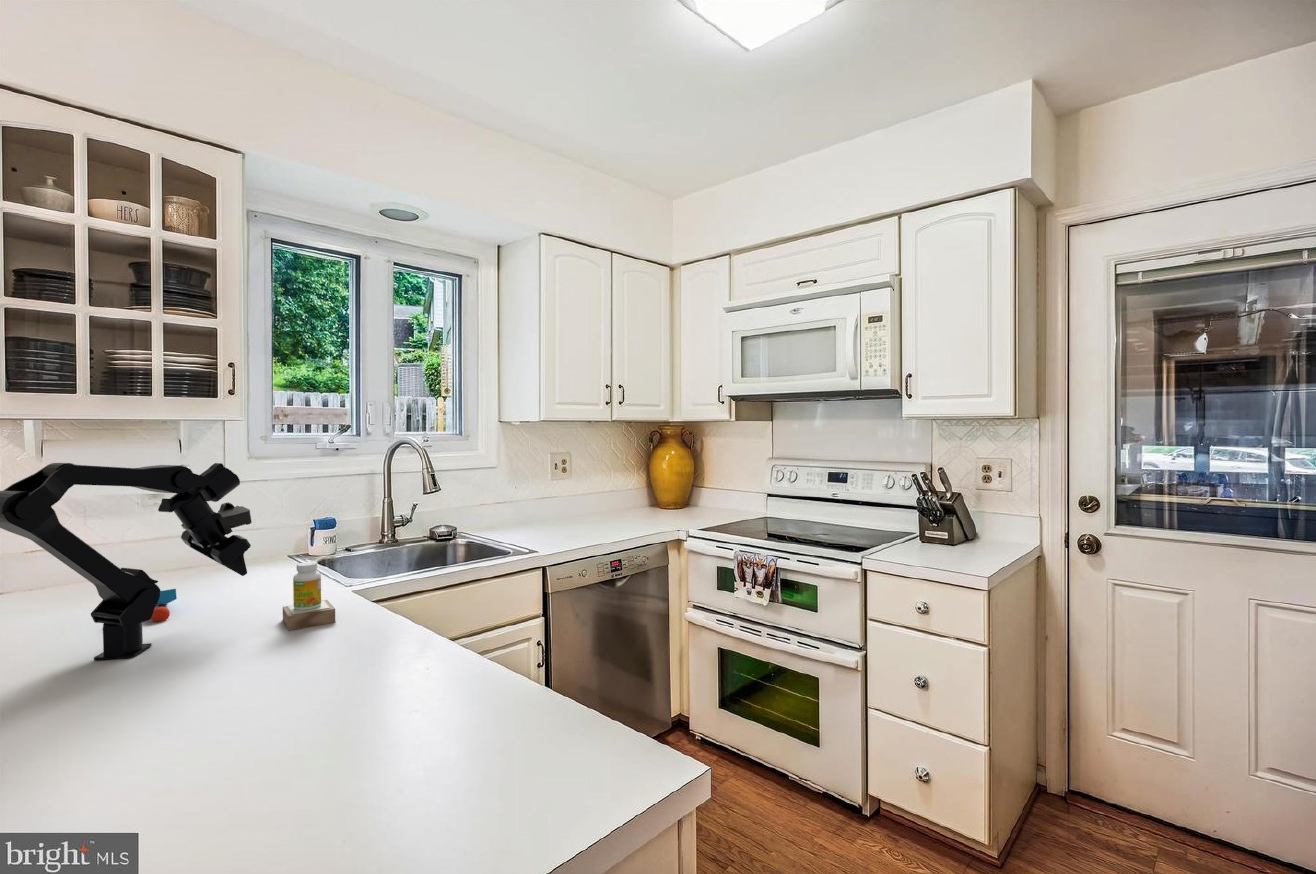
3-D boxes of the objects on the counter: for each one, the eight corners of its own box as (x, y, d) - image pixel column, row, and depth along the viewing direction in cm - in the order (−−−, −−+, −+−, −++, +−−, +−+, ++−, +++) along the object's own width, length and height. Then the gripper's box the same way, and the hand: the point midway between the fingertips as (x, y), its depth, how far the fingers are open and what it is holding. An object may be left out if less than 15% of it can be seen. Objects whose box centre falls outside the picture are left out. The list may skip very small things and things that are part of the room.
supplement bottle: (290, 611, 136) (289, 567, 136) (297, 604, 141) (296, 561, 141) (317, 609, 137) (317, 565, 137) (324, 602, 143) (323, 560, 142)
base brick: (288, 630, 133) (288, 615, 133) (282, 620, 140) (282, 605, 140) (335, 622, 139) (335, 607, 139) (327, 612, 146) (327, 598, 146)
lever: (131, 630, 148) (142, 625, 136) (129, 600, 150) (139, 593, 137) (167, 623, 153) (181, 618, 141) (165, 594, 155) (178, 587, 142)
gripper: (255, 502, 134) (289, 556, 142) (214, 485, 144) (248, 536, 152) (202, 535, 126) (242, 590, 134) (163, 514, 136) (202, 567, 144)
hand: (234, 569), depth 141 cm, fingers open, 9 cm apart
